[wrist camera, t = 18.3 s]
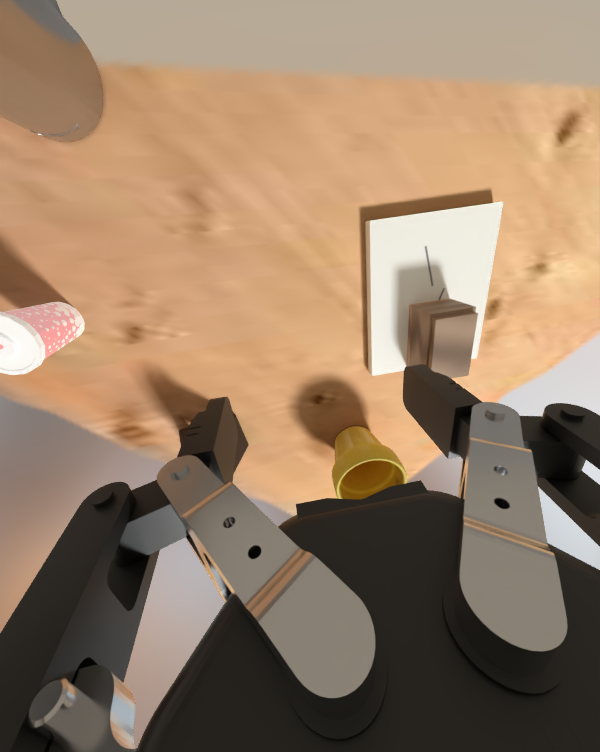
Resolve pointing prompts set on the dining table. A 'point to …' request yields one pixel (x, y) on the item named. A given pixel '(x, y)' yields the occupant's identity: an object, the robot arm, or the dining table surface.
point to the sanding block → (442, 336)
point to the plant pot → (364, 465)
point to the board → (425, 273)
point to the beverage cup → (36, 335)
